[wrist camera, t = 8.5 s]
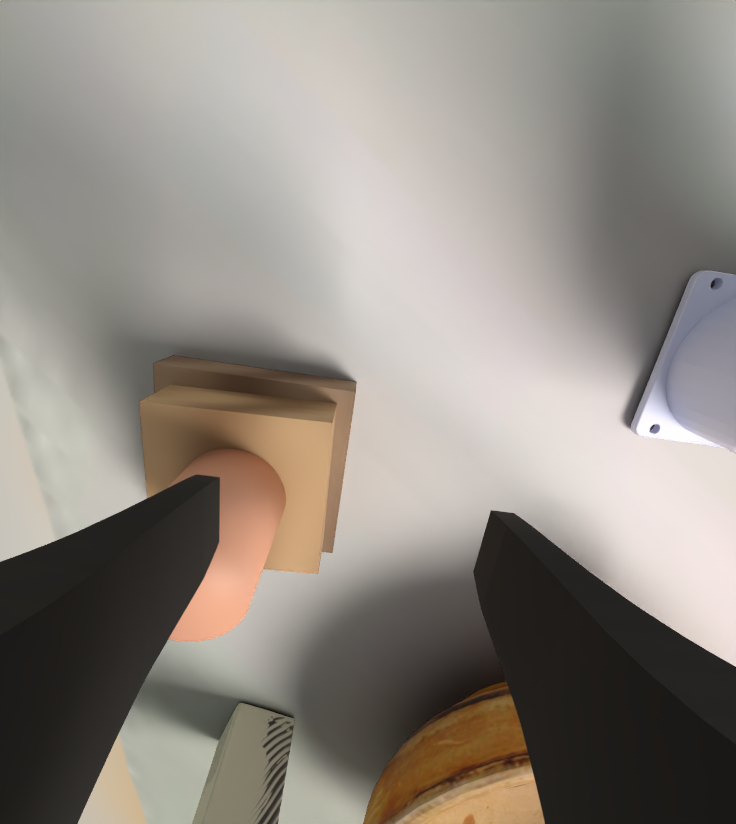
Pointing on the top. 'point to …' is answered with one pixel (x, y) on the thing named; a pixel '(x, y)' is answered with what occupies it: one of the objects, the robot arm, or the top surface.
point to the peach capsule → (233, 540)
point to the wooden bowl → (461, 769)
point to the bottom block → (276, 385)
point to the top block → (255, 433)
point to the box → (247, 769)
